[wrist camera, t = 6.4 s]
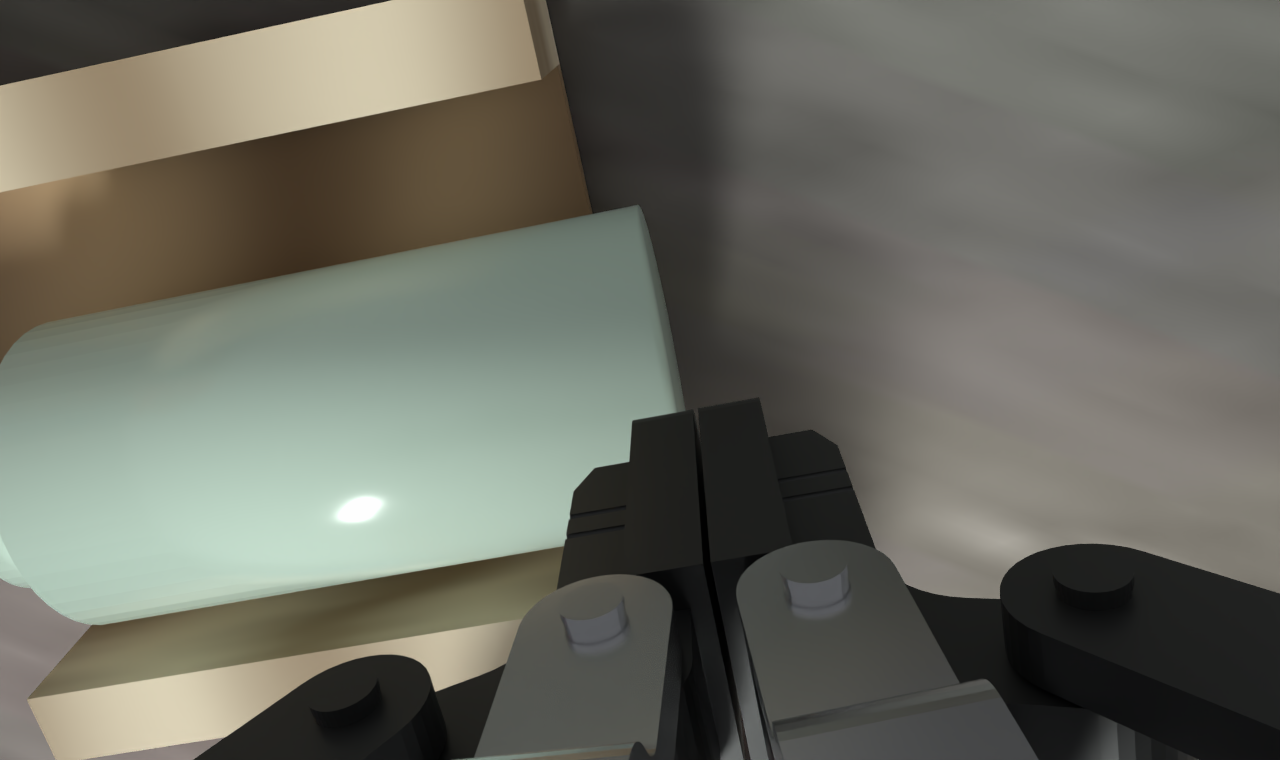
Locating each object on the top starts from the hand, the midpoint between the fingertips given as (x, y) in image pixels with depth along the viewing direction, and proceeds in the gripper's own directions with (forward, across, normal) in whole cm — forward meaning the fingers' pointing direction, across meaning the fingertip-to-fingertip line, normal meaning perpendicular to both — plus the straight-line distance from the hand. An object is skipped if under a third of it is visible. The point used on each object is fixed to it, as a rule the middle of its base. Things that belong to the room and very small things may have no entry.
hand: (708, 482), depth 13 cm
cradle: (+8, +8, 0) cm, 11 cm away
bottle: (+5, 0, 0) cm, 5 cm away
